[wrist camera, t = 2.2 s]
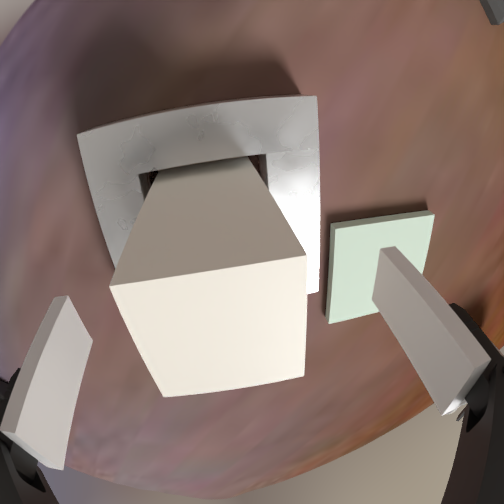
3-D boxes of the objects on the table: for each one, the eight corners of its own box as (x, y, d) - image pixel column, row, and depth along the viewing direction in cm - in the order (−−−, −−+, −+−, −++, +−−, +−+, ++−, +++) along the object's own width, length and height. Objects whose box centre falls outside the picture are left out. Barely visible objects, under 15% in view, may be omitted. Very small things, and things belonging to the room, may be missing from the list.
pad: (325, 317, 29) (328, 324, 28) (330, 223, 24) (335, 228, 23) (410, 296, 30) (414, 301, 29) (428, 210, 24) (434, 214, 24)
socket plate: (140, 296, 24) (135, 320, 22) (92, 127, 17) (76, 134, 15) (306, 269, 26) (318, 291, 23) (301, 94, 18) (316, 96, 16)
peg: (176, 246, 23) (163, 397, 12) (159, 170, 20) (109, 286, 8) (255, 234, 23) (303, 375, 12) (247, 156, 20) (307, 255, 9)
